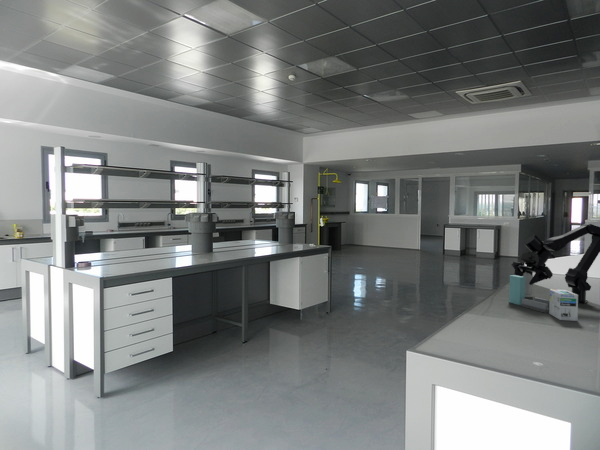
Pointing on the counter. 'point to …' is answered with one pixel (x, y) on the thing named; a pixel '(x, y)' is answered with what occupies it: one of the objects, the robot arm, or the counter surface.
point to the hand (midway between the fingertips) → (521, 282)
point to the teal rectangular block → (516, 289)
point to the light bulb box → (563, 305)
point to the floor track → (536, 304)
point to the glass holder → (528, 287)
